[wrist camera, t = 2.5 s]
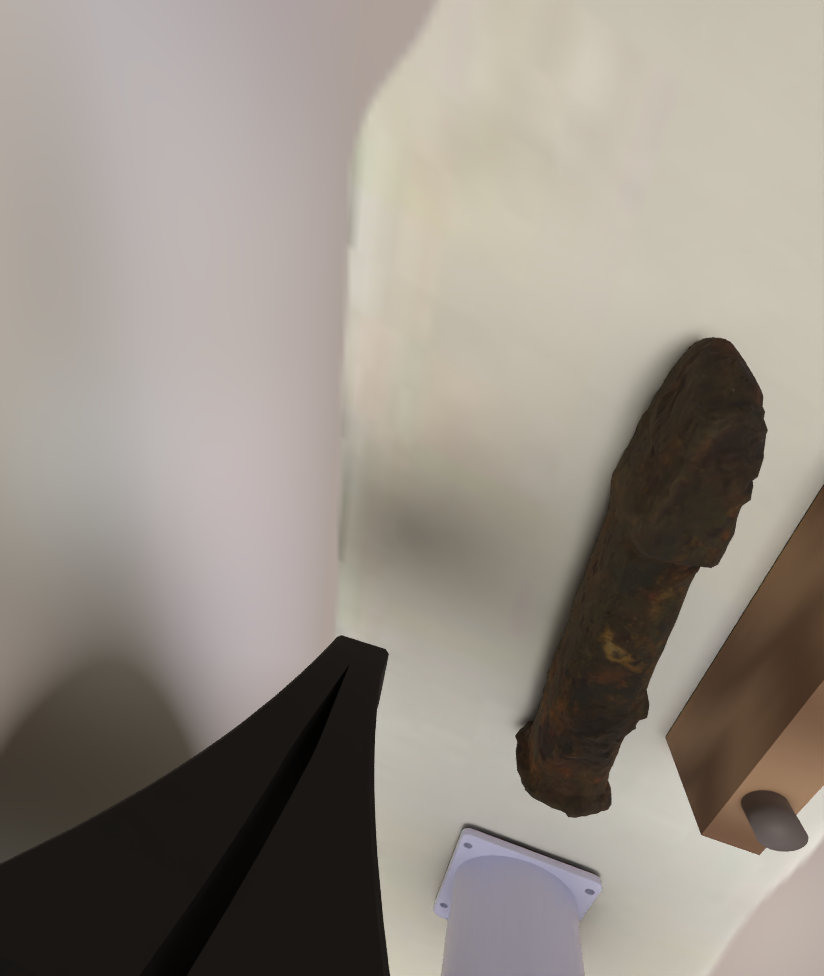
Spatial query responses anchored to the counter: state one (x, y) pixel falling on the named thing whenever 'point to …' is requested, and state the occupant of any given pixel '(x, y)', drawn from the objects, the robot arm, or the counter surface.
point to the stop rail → (762, 709)
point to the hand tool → (644, 571)
